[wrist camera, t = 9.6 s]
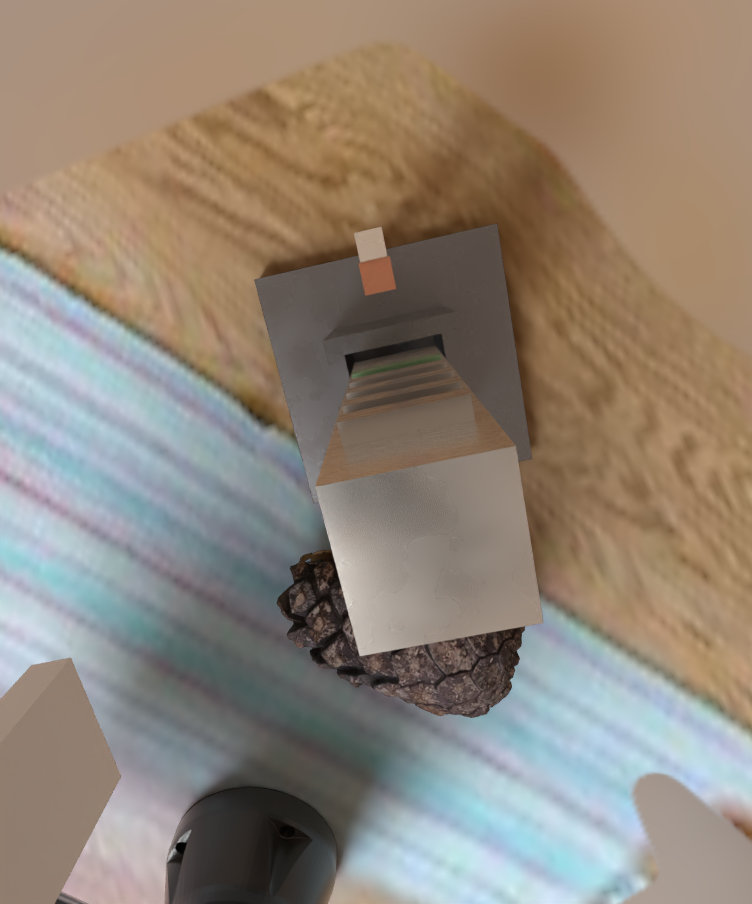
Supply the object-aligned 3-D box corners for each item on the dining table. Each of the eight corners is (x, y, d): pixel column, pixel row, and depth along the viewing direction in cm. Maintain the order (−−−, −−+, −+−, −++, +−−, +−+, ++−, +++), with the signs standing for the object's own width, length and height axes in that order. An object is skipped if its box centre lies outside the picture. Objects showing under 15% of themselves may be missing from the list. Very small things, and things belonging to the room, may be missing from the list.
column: (372, 439, 33) (360, 656, 14) (351, 350, 32) (307, 457, 13) (449, 423, 33) (543, 622, 14) (432, 332, 32) (510, 415, 12)
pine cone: (288, 530, 45) (263, 599, 35) (517, 549, 45) (555, 623, 35) (282, 646, 48) (258, 738, 38) (498, 663, 48) (527, 760, 38)
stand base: (315, 495, 44) (269, 650, 26) (258, 279, 39) (152, 280, 21) (527, 452, 43) (635, 582, 24) (492, 225, 38) (594, 176, 20)
